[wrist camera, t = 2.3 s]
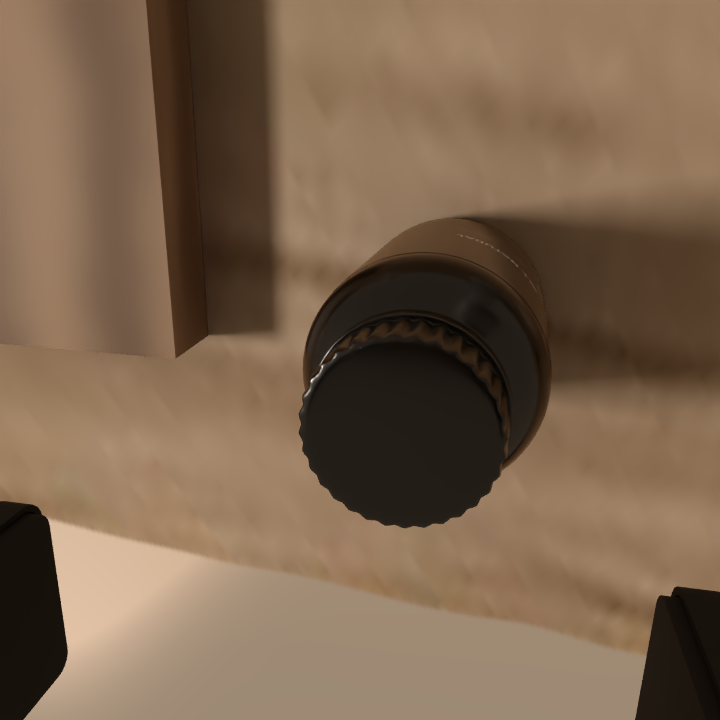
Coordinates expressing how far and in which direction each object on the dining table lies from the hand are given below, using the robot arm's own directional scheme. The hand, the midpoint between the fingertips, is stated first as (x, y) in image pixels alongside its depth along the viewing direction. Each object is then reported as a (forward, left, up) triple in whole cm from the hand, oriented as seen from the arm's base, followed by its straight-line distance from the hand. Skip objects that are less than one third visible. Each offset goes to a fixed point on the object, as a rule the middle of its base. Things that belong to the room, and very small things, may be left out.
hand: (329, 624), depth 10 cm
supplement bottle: (0, 0, -18) cm, 18 cm away
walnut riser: (+18, -6, -18) cm, 26 cm away
